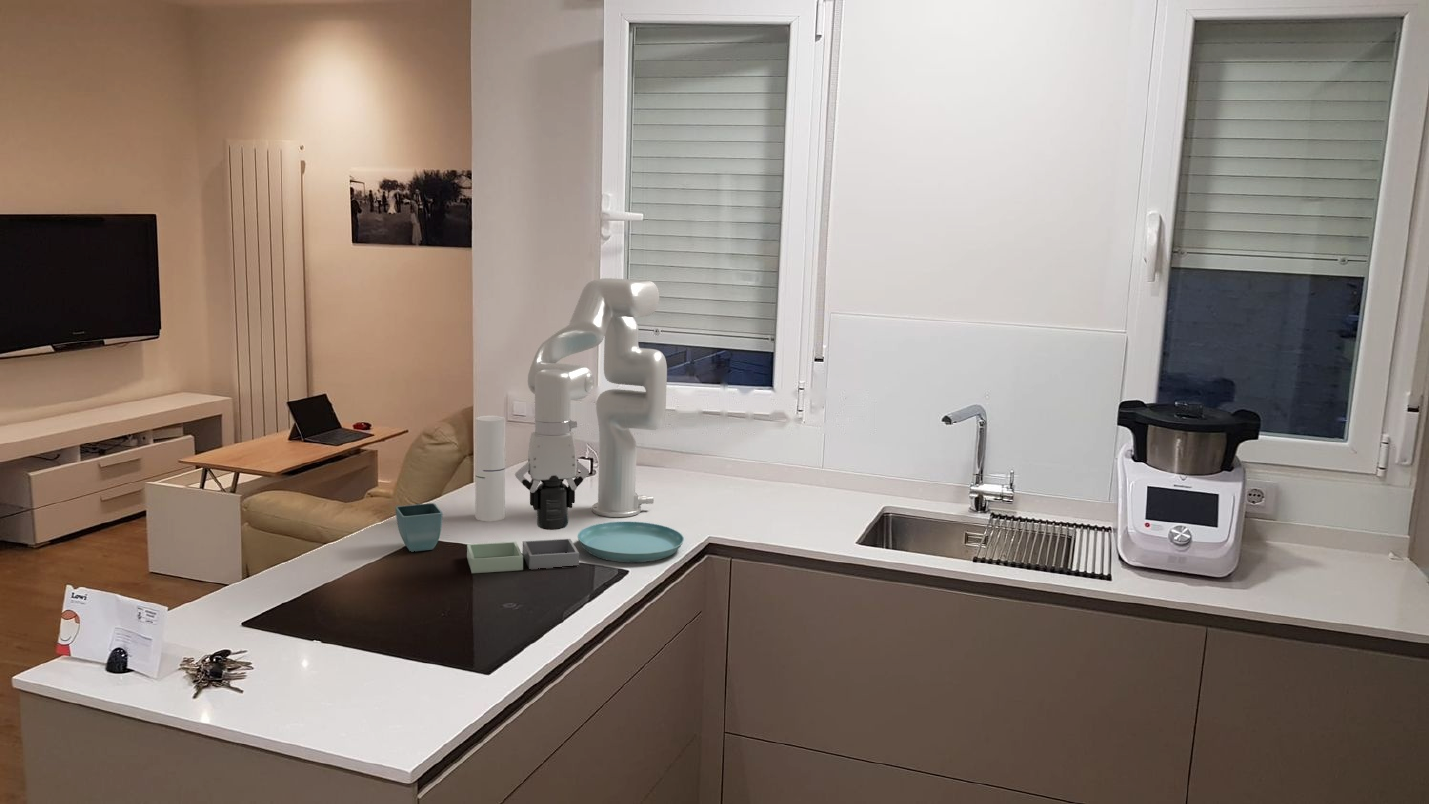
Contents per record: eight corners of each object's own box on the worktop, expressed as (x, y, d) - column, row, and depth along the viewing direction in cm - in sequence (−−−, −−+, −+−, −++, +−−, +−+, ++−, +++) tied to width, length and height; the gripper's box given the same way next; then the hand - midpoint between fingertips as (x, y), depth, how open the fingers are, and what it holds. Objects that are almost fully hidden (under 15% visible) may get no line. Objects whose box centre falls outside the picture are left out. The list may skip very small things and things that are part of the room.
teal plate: (604, 572, 224) (605, 558, 224) (560, 541, 245) (561, 527, 244) (702, 558, 237) (703, 544, 236) (653, 529, 257) (653, 516, 257)
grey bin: (569, 551, 237) (570, 538, 236) (578, 566, 227) (579, 553, 226) (522, 554, 234) (522, 541, 233) (529, 569, 224) (529, 555, 223)
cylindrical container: (501, 521, 257) (501, 421, 253) (472, 520, 258) (472, 420, 253) (507, 514, 265) (508, 416, 260) (479, 512, 265) (479, 415, 260)
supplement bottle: (573, 523, 232) (574, 470, 230) (559, 532, 226) (559, 478, 223) (545, 519, 234) (545, 467, 232) (530, 528, 228) (530, 474, 225)
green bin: (516, 554, 233) (516, 541, 233) (522, 570, 223) (522, 556, 223) (467, 557, 230) (467, 544, 229) (471, 573, 220) (471, 559, 219)
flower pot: (402, 556, 229) (402, 516, 227) (395, 544, 237) (394, 506, 235) (443, 552, 233) (443, 512, 232) (434, 540, 241) (434, 502, 239)
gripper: (589, 422, 232) (588, 500, 235) (509, 425, 226) (509, 505, 230) (596, 429, 225) (595, 510, 228) (514, 433, 219) (514, 515, 223)
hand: (552, 506), depth 229 cm, fingers closed on supplement bottle, 6 cm apart
